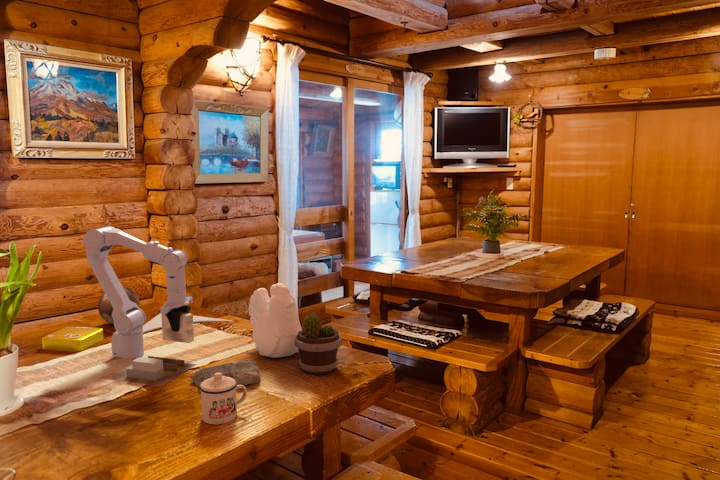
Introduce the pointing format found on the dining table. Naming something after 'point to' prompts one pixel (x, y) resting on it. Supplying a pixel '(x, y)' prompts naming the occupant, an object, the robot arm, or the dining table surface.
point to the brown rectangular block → (184, 331)
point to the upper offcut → (147, 364)
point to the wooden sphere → (106, 307)
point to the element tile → (72, 339)
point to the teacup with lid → (220, 399)
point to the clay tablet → (230, 373)
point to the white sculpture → (274, 321)
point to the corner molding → (157, 322)
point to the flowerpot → (317, 346)
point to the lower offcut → (144, 374)
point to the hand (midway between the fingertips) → (178, 329)
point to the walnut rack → (170, 372)
